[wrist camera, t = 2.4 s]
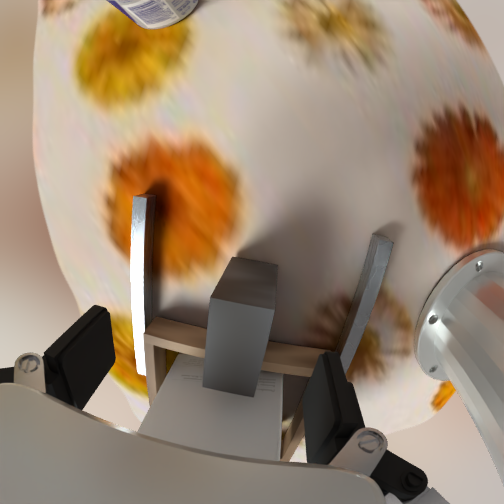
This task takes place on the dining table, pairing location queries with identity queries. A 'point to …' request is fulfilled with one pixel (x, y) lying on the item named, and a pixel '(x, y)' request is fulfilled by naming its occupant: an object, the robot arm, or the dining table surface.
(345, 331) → the lane rails
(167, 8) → the energy drink
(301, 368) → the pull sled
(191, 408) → the supplement box
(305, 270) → the dining table surface
